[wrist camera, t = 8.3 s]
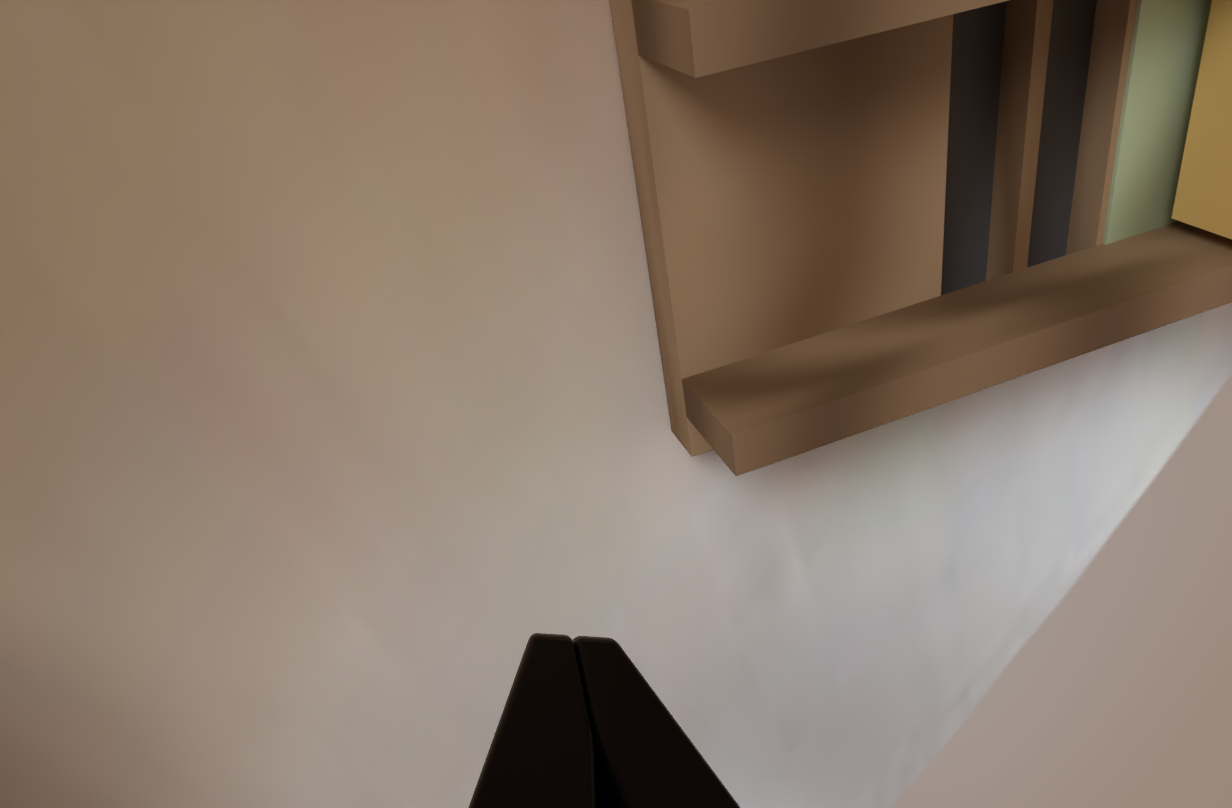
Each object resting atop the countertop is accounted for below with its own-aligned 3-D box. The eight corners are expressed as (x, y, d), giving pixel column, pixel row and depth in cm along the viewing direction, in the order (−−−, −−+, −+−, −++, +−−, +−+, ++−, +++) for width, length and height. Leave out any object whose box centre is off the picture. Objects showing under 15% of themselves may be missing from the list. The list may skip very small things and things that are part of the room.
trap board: (671, 430, 22) (740, 518, 19) (597, -80, 16) (679, -73, 13) (1228, 244, 25) (1361, 292, 22) (1335, -229, 19) (1536, -252, 16)
